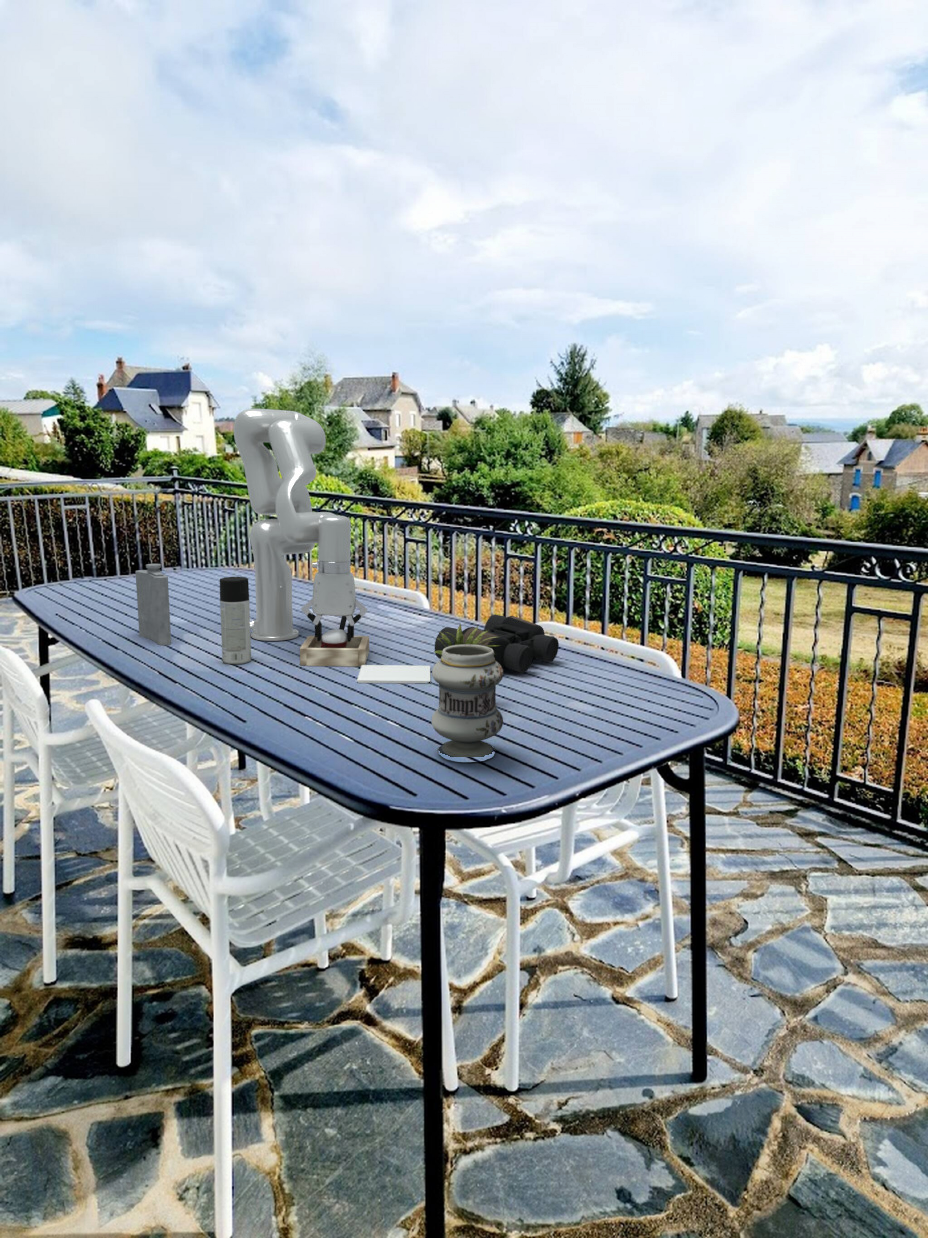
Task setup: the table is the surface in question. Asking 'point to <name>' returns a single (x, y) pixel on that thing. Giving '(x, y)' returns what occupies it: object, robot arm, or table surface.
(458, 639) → the house plant
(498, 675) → the apothecary jar
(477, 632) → the binoculars
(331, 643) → the cocoa
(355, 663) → the holder
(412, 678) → the mat
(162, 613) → the hip flask
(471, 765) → the table surface
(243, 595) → the spray can
